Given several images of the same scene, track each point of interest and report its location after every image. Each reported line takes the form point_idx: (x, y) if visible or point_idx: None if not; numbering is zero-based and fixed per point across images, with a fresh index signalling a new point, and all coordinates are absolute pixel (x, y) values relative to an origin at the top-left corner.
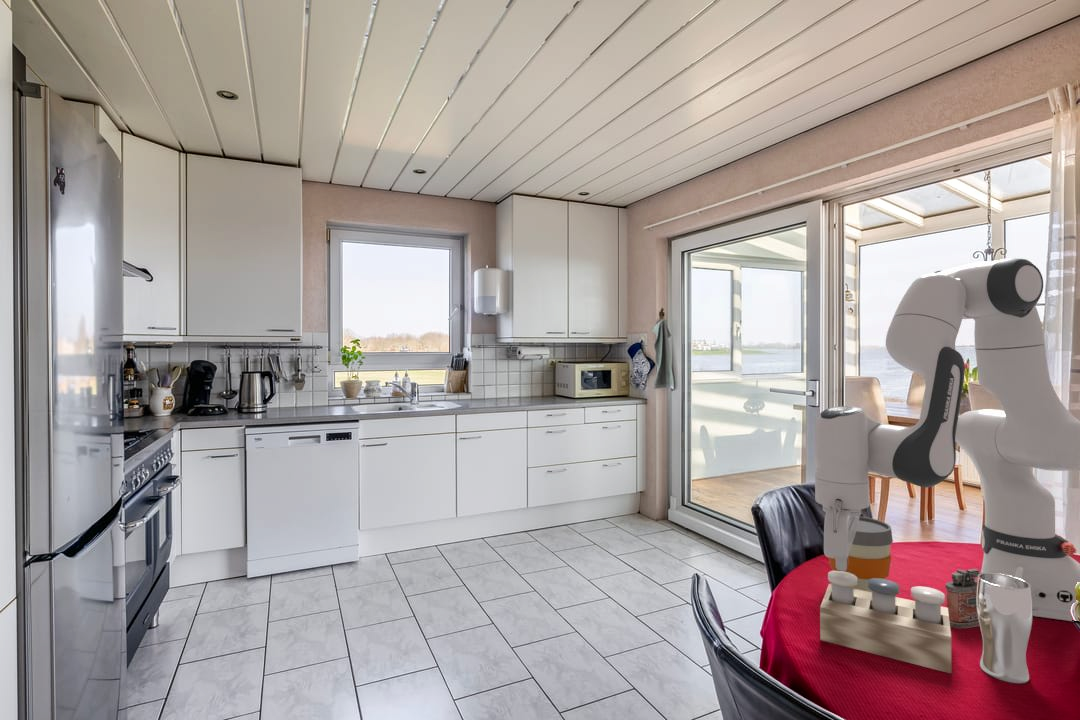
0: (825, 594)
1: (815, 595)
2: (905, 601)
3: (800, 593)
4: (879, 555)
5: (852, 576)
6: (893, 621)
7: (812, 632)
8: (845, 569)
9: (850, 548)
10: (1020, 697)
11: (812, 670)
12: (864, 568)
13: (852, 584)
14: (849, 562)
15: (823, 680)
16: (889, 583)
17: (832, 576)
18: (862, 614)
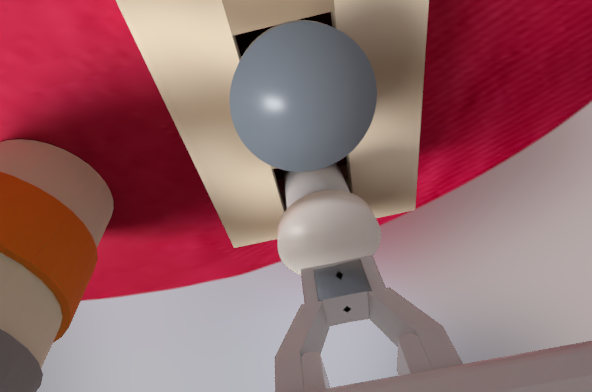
0: None
1: (174, 242)
2: (158, 22)
3: (193, 261)
4: None
5: (311, 222)
6: (408, 7)
7: None
8: (373, 259)
9: (561, 369)
10: None
11: (521, 130)
12: (39, 227)
13: (357, 199)
14: (68, 271)
15: (555, 101)
16: (276, 85)
17: None
18: (402, 114)
